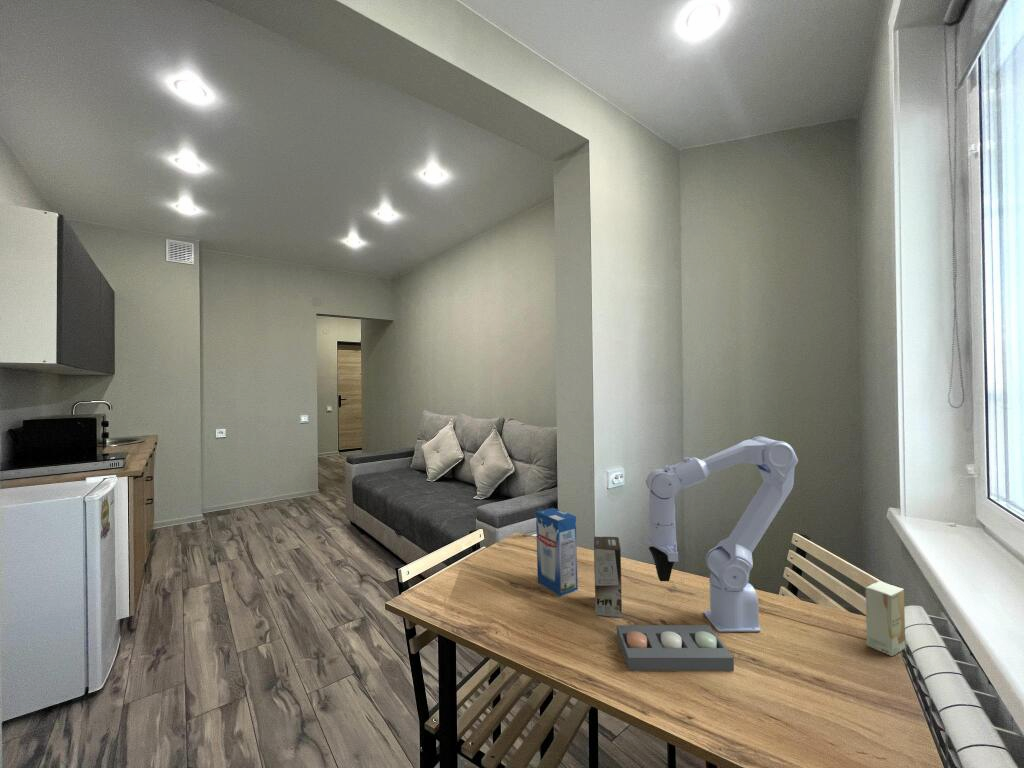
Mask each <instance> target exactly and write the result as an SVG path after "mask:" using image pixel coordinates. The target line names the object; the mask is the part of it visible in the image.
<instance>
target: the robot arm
mask: <svg viewBox="0 0 1024 768" xmlns="http://www.w3.org/2000/svg"><path fill="white" fill-rule="evenodd" d="M798 462H799V459H798V456H797V454H796V452H795V450H794V448H793V447H792V445H791V444H789V443H787V442H786V441H783V440H782V441H781V440H775V439H771V438H768V437H766V436H760V435H759V436H755V437H753V438H752V439H750V438H749V439H746V440H743V441H741V442H740V443H739V442H738V443H737V444H735V445H732V446H729V447H728V448H726V449H724V450H721V451H719V452H717V453H714V454H712V455H710V456H708V457H706V458H703V459H699V458H697V457H689V456H685V457H683V458H682V461H680V462H677V463H675V464H672V465H668V464H667V465H664V466H663V467H664V469H660V468H656V469H653V470H652V471H650V472H649V474H648V475H647V477H646V480H645V484H646V487H647V488H648V489H649V496H648V497H649V500H648V509H649V510H648V512H649V514H648V515H649V538H646V539H644V543H645V544H646V545H647V546H649V547H648V550H649V551H650V553H651V555H652V559H653V561H654V565H655V569H656V574H657V578H658V580H659V581H660V582H670V579H671V575H672V570H673V567H674V564H675V563H677V562H679V552H678V550H677V548H678V547H677V546H678V542H677V531H676V527H677V526H676V503H675V496H676V494H677V493H678V491H681V490H684V489H687V488H690V487H692V486H694V485H697V484H699V483H703V482H705V481H707V478H708V476H709V475H710V473H714V472H716V471H720V470H723V469H726V468H728V467H732V466H736V465H738V464H741V463H746V464H747V463H748V464H753V465H755V466H756V467H757V469H758V470H759V473H760V475H761V477H762V480H763V481H762V482H761V484H760V486H759V488H758V490H756V491H757V492H756V493H755V494H754V495H753V498H752V500H750V502H749V504H748V505H747V507H746V509H745V510H744V511H743V514H742V515H741V517H740V518H739V520H738V521H737V523H736V525H735V526H734V528H733V529H732V531H731V533H730V534H729V536H728V537H727V538H725V539H721V540H720V541H719V542H718V543H717V545H716V546H715V547H713V548H711V549H710V550H708V552H707V554H706V556H705V564H706V566H707V568H708V570H710V576H709V610H703V615H705V617H706V618H707V620H708V621H709V622H710V623H711V625H712V626H713V627H714V628H715V630H716V631H718V632H719V633H721V632H723V633H724V632H725V633H726V632H730V633H731V632H733V633H735V632H745V633H746V632H747V633H749V632H759V633H760V632H761V629H762V628H760V622H759V621H760V619H759V599H758V594H757V592H756V589H755V588H754V586H753V585H752V584H751V583H749V582H750V581H749V580H750V573H751V570H752V569H753V566H754V565H753V564H754V562H753V554H752V553H753V552H754V550H755V548H756V547H757V545H758V544H759V542H760V541H761V539H762V537H763V536H764V534H765V533H766V532H767V530H768V528H769V527H770V525H771V523H772V522H773V520H774V519H775V517H776V516H777V514H778V512H779V511H780V510H781V508H782V506H783V505H784V502H785V501H786V499H787V498H788V497H789V495H790V493H791V492H792V489H793V488H794V484H795V482H794V481H795V468H796V466H797V464H798Z"/></svg>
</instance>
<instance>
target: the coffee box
mask: <svg viewBox="0 0 1024 768" xmlns="http://www.w3.org/2000/svg"><path fill="white" fill-rule="evenodd" d="M593 539H594V540H593V562H594V564H593V565H594V566H593V567H594V568H593V569H594V571H593V572H594V595H595V596H594V598H595V615H596V616H605V617H615V618H622V617H623V615H622V614H623V613H622V612H623V611H622V607H623V605H622V604H623V603H622V561H621V560H622V556H621V553H622V552H621V545H620V539H619V537H618V536H594V538H593Z"/></svg>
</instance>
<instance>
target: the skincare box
mask: <svg viewBox="0 0 1024 768" xmlns="http://www.w3.org/2000/svg"><path fill="white" fill-rule="evenodd" d="M865 611H866V612H865V613H866V615H865V616H866V646H867V647H870V648H873V649H874V650H877V651H879V652H881V653H884V654H885V653H886V655H889V656H890V657H893V656H895V655H897V654H899V653H900V652H902V651H904V649H906V623H905V622H906V621H905V620H906V618H905V589H904V588H902V587H898V586H896V585H892V584H889V583H887V582H883V581H879V580H878V581H876V582H874V583H872V584H870V585H868V586H865ZM898 652H899V653H898Z"/></svg>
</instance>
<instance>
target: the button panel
mask: <svg viewBox="0 0 1024 768" xmlns="http://www.w3.org/2000/svg"><path fill="white" fill-rule="evenodd" d="M632 631H637V632H641V633H643V634H644V635H646V637H647V648H627V634H628V633H629V632H632ZM666 631H670V632H674V633H677V634H678V635H680V636H681V638H682V648H663V647H662V645H661V633H663V632H666ZM700 631H704V632H708V633H711V634H713V635H714V636H715V637H716V641H717V648H698V647H697V645H696V644H695V633H697V632H700ZM616 637H617V641H618V643H619V646H620V649H621V650H620V651H621V653H622V655H623V658H624V660H625V663H626V666H627V670H628V671H639V672H641V671H642V672H643V671H645V672H646V671H647V672H648V671H651V672H652V671H655V672H656V671H659V672H661V671H664V672H665V671H673V672H674V671H675V672H677V671H679V672H680V671H681V672H683V671H685V672H686V671H687V672H690V671H691V672H701V671H703V672H725V671H726V672H730V671H731V672H734V671H735V658H734V656H733V655H732V654H731V652H730V650H729V649H727V647H726V646H725V645H724V642H722V640H721V639H720V638H719V636H718V635H717V633H716V632H715V631H714V630H713V628H712V627H711V626H710V624H703V625H702V624H692V625H691V624H680V625H679V624H678V625H677V624H674V625H673V624H670V625H669V624H668V625H667V624H664V625H663V624H661V625H660V624H654V625H653V624H650V625H649V624H640V625H638V624H637V625H636V624H632V625H631V624H629V625H628V624H624V625H623V624H620V625H619V624H618V625H617V624H616Z"/></svg>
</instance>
